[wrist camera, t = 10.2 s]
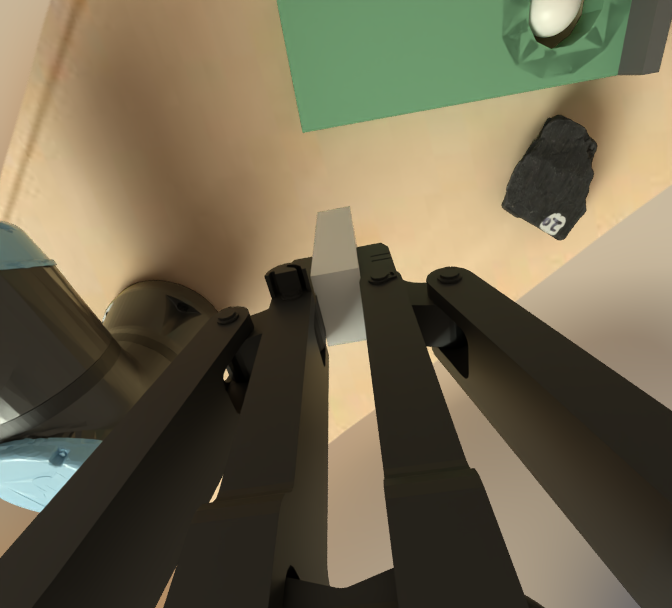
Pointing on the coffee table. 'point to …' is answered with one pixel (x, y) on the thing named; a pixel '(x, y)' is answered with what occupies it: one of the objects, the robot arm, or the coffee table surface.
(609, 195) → the coffee table surface
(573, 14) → the ball
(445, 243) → the coffee table surface
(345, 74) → the green
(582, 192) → the mineral
